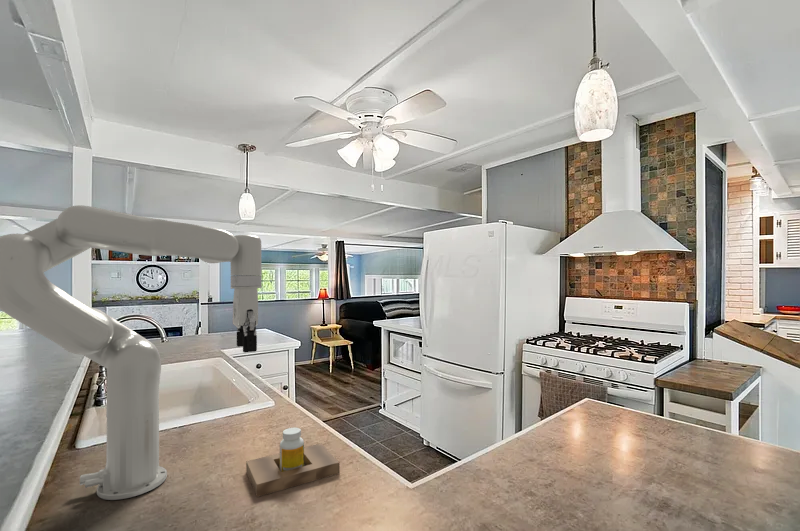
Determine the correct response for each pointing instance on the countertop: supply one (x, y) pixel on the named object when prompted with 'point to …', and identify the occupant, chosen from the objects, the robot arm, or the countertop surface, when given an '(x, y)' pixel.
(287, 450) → the supplement bottle
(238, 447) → the countertop surface
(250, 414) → the countertop surface
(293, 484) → the frame
